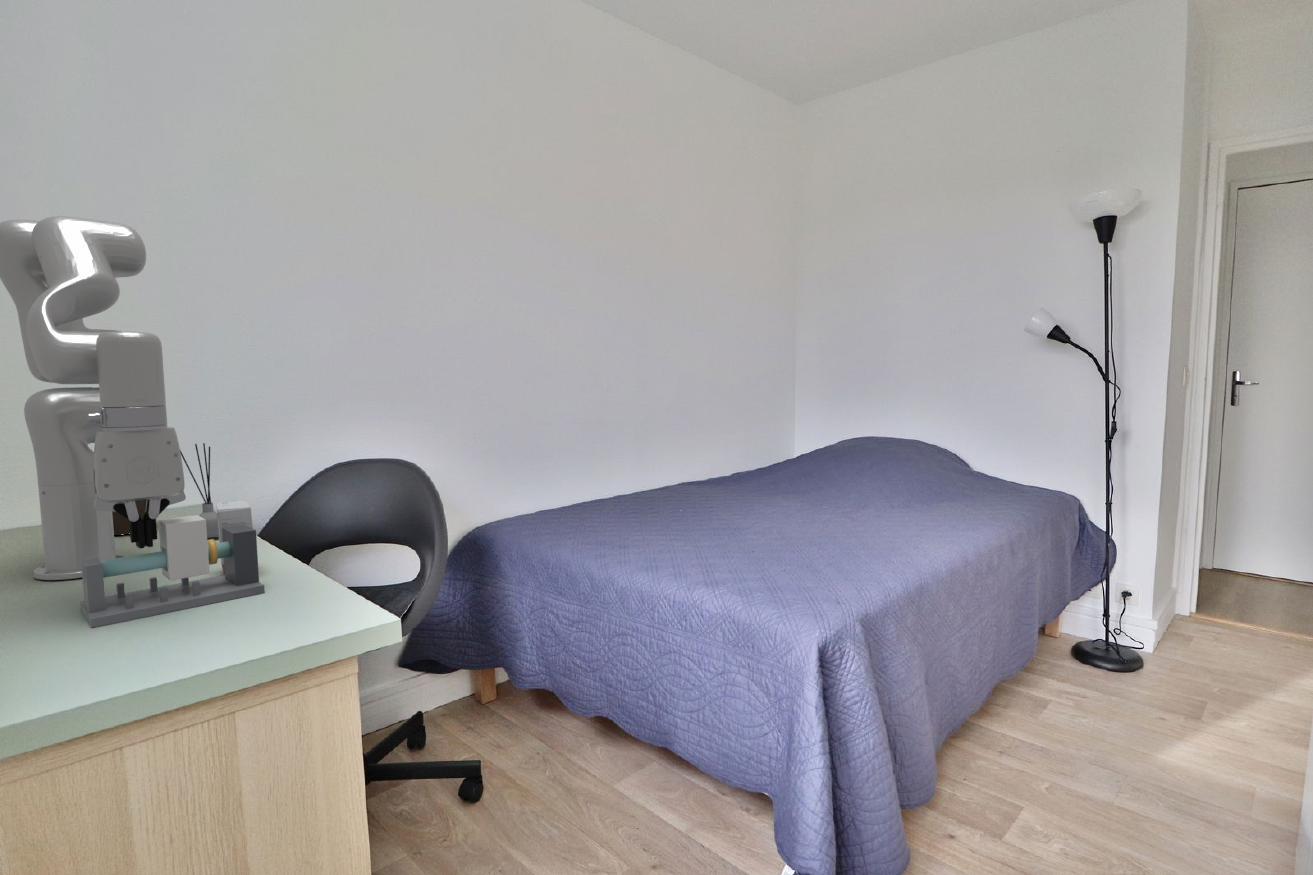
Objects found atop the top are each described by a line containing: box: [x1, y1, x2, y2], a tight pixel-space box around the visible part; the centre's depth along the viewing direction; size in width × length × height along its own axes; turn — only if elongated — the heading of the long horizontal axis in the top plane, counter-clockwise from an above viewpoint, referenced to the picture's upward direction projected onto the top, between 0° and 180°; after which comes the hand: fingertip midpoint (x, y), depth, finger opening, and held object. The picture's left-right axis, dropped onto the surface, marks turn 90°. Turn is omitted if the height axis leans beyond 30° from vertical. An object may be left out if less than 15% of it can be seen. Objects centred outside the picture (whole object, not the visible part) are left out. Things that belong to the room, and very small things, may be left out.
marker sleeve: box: [157, 514, 211, 582], centre depth 106 cm, size 5×5×8 cm
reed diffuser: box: [180, 442, 219, 539], centre depth 146 cm, size 10×7×20 cm
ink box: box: [215, 500, 254, 575], centre depth 120 cm, size 9×5×12 cm, turn 33°
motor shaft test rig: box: [79, 525, 265, 628], centre depth 105 cm, size 21×11×9 cm, turn 135°
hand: (144, 546), depth 103 cm, fingers closed
